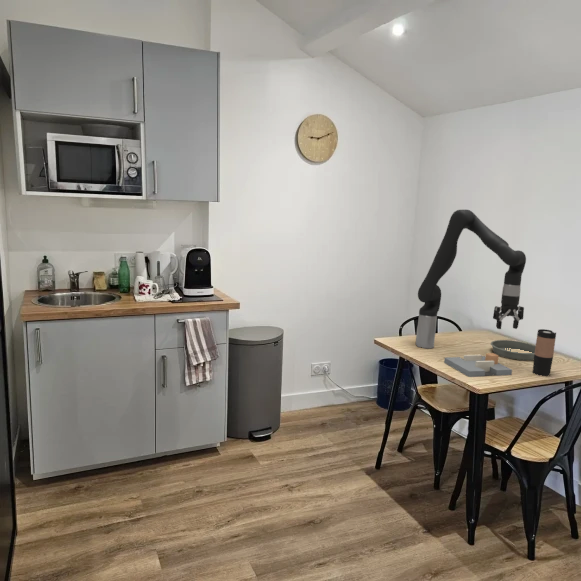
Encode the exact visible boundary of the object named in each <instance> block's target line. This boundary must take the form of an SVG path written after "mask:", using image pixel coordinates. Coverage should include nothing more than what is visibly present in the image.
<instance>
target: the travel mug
mask: <svg viewBox="0 0 581 581" xmlns="http://www.w3.org/2000/svg"><path fill="white" fill-rule="evenodd" d="M556 338H557V332H554V331H553V330H549V329H543V328H542V329H537V333H536V340H535V346H536V347H535V354H534V360H533V364H532V373H533V374H534V373H535V375H537V374H538V375H537V376H540V375H542V376H541V377H549V376H550V375H551V370H552V364H553V360H554V353H555V345H556ZM548 375H549V376H548Z"/></svg>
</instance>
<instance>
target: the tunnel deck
mask: <svg viewBox="0 0 581 581" xmlns="http://www.w3.org/2000/svg"><path fill="white" fill-rule="evenodd" d="M485 358H486V355H482V354H463V358H462V357H460V356H453V357H451V356H450V357H448V356H447V357H444V361H443V363H444V364H446V365H448V366H449V367H451V368H453V369H454V370H456V371H458V372H460V373H461V374H463V375H465V376H466V377H469V378H472V377H473V378H474V377H496V376H512V372H513V369H512V368H509V367H508V366H505V365H504V364H501V363H500V362H498V364H494V361H485Z"/></svg>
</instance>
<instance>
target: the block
mask: <svg viewBox="0 0 581 581" xmlns="http://www.w3.org/2000/svg"><path fill="white" fill-rule="evenodd" d="M485 357H486V358H485V361H494V364H498V363H499V358H500V356H499V355H497V354H495V353H494V352H492V353H491V352H489V353H488V352H487V353H485Z"/></svg>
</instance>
